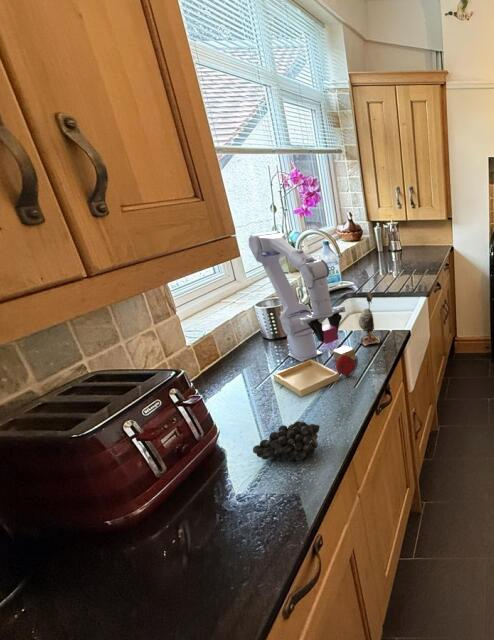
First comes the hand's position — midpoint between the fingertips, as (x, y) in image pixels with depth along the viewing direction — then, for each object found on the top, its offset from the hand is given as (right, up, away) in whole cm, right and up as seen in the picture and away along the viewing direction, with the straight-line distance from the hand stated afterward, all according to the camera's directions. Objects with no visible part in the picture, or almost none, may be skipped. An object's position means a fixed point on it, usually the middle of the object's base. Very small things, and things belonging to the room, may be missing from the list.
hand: (328, 338), depth 131 cm
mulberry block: (0, -1, 0) cm, 1 cm away
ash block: (+3, -8, +8) cm, 11 cm away
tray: (-5, -13, -4) cm, 14 cm away
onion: (+7, -12, -2) cm, 14 cm away
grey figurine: (+7, -2, +22) cm, 23 cm away
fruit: (+7, -26, -37) cm, 46 cm away
